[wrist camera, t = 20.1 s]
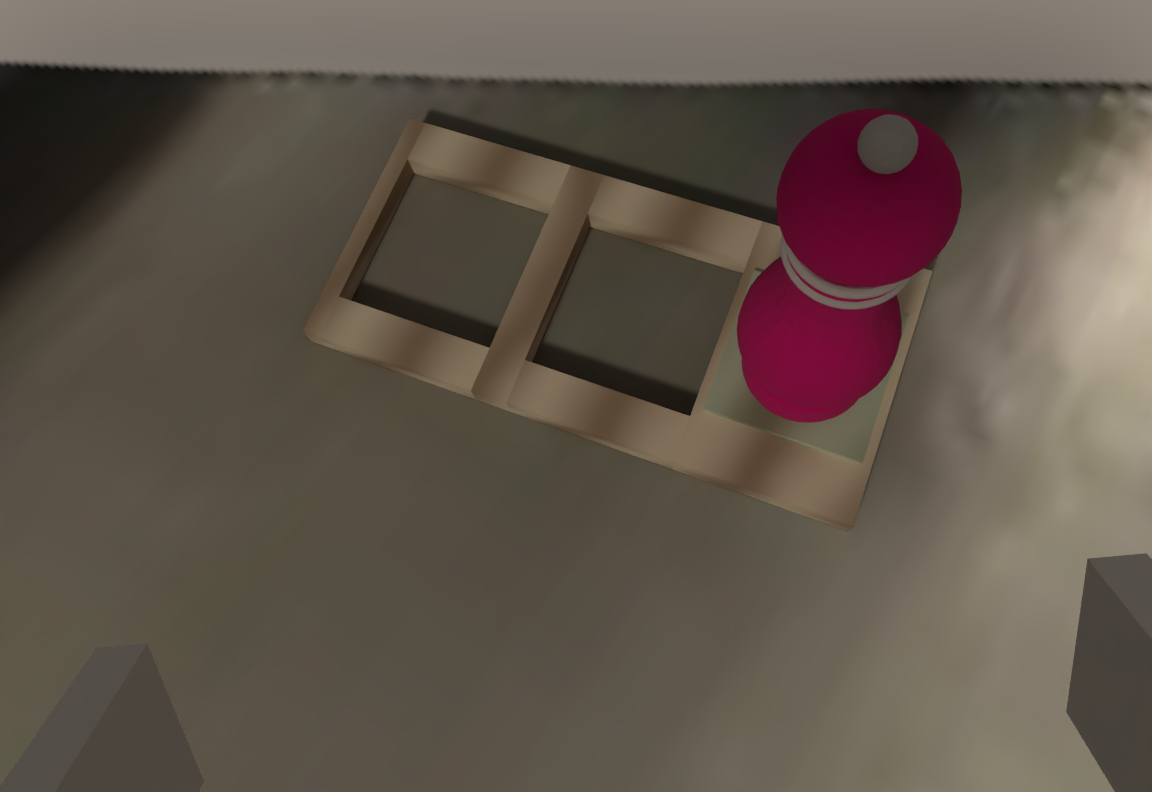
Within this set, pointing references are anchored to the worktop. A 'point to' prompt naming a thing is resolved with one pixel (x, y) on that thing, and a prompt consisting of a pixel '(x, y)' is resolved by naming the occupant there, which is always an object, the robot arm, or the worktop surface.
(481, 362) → the board
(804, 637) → the worktop surface
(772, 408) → the pepper mill
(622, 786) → the worktop surface
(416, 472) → the worktop surface
